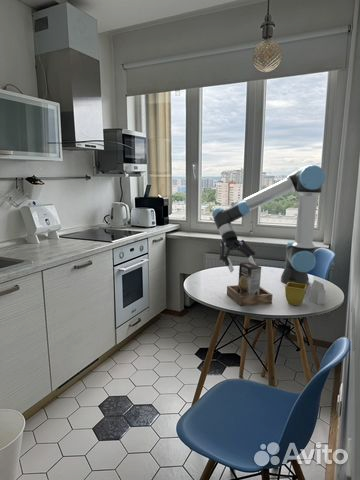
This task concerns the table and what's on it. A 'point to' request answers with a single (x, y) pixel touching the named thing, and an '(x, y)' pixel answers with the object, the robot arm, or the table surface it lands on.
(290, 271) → the robot arm
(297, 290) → the flower pot
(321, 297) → the grey block
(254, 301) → the tray
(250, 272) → the coffee box
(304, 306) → the table surface
